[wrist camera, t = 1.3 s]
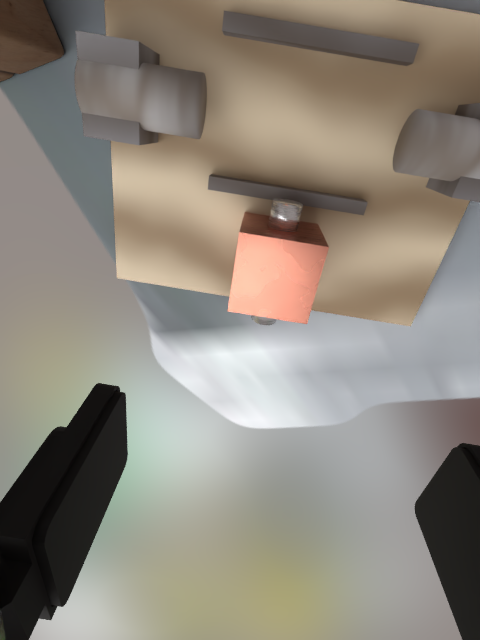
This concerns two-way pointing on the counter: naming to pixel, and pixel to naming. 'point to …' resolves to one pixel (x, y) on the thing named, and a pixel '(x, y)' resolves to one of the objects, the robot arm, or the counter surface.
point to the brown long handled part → (26, 37)
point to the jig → (287, 137)
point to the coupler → (277, 265)
